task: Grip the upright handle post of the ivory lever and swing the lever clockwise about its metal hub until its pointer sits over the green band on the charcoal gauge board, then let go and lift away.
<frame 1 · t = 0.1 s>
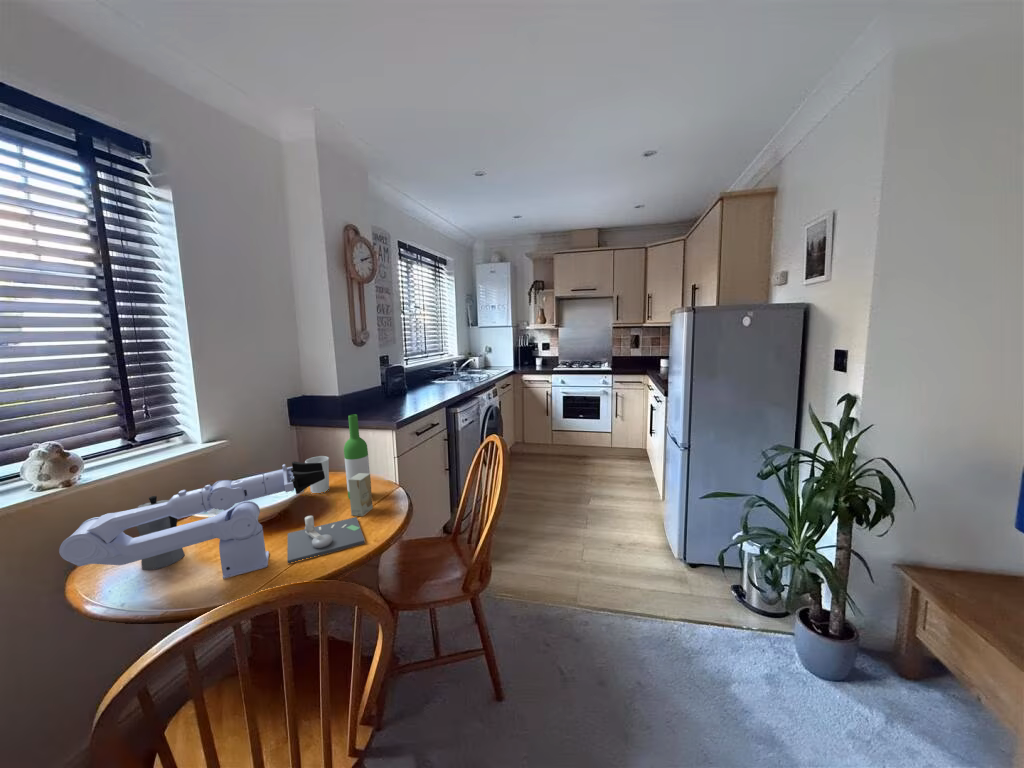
hand: (323, 470, 110), 22 cm above the table, tool horizontal, fingers open, 7 cm apart
cup: (320, 490, 151), on the table
gauge board: (325, 539, 116), on the table
wine bottle: (360, 498, 143), on the table
coffeepot: (166, 561, 107), on the table
tuning lever: (314, 529, 114), point 4 cm above the table, hinge at 0.0°
skincare box: (362, 512, 133), on the table
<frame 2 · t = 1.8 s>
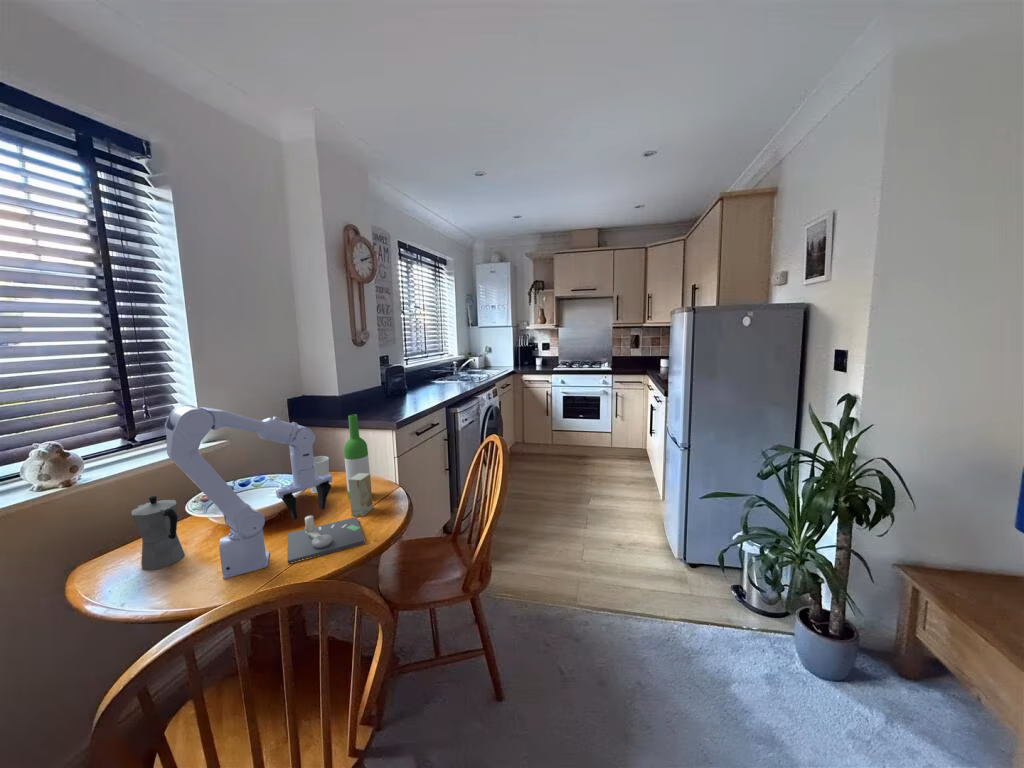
hand: (308, 513, 115), 8 cm above the table, tool pointing down, fingers open, 7 cm apart
nothing on the table moved.
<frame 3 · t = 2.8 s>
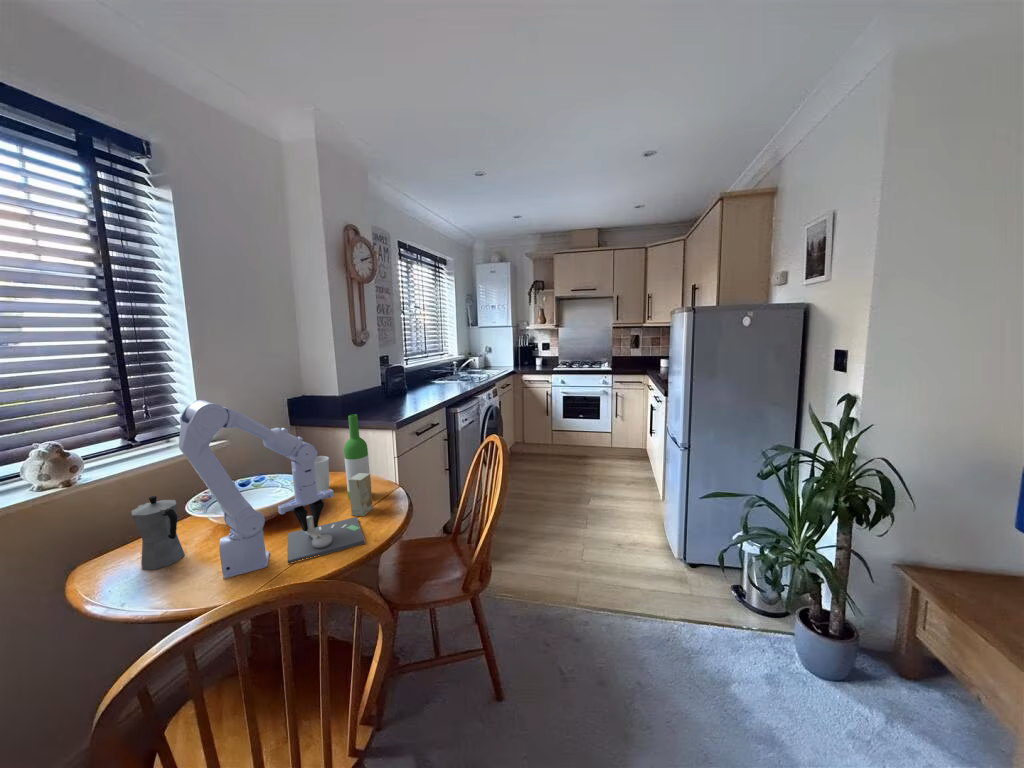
hand: (310, 528, 116), 3 cm above the table, tool pointing down, fingers closed on tuning lever, 2 cm apart
tuning lever: (314, 529, 114), point 4 cm above the table, hinge at 0.0°, touching gripper
everything else where it was.
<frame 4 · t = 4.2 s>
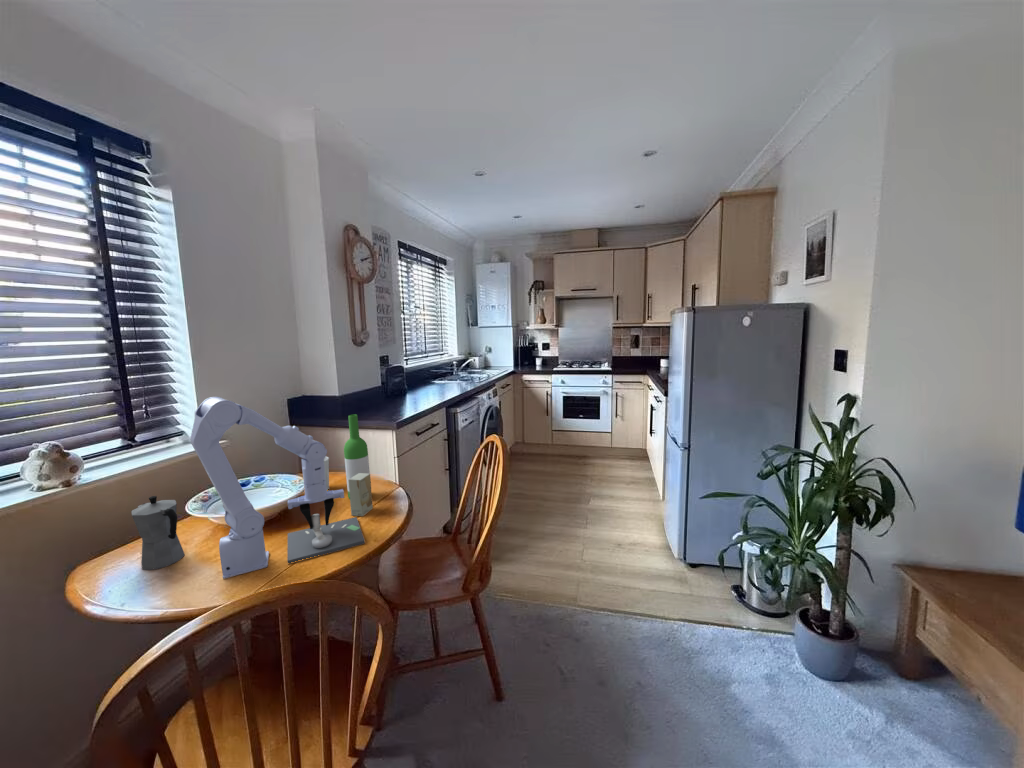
hand: (319, 525, 118), 3 cm above the table, tool pointing down, fingers open, 3 cm apart
tuning lever: (318, 528, 114), point 4 cm above the table, hinge at -13.0°, touching gripper
everything else where it was.
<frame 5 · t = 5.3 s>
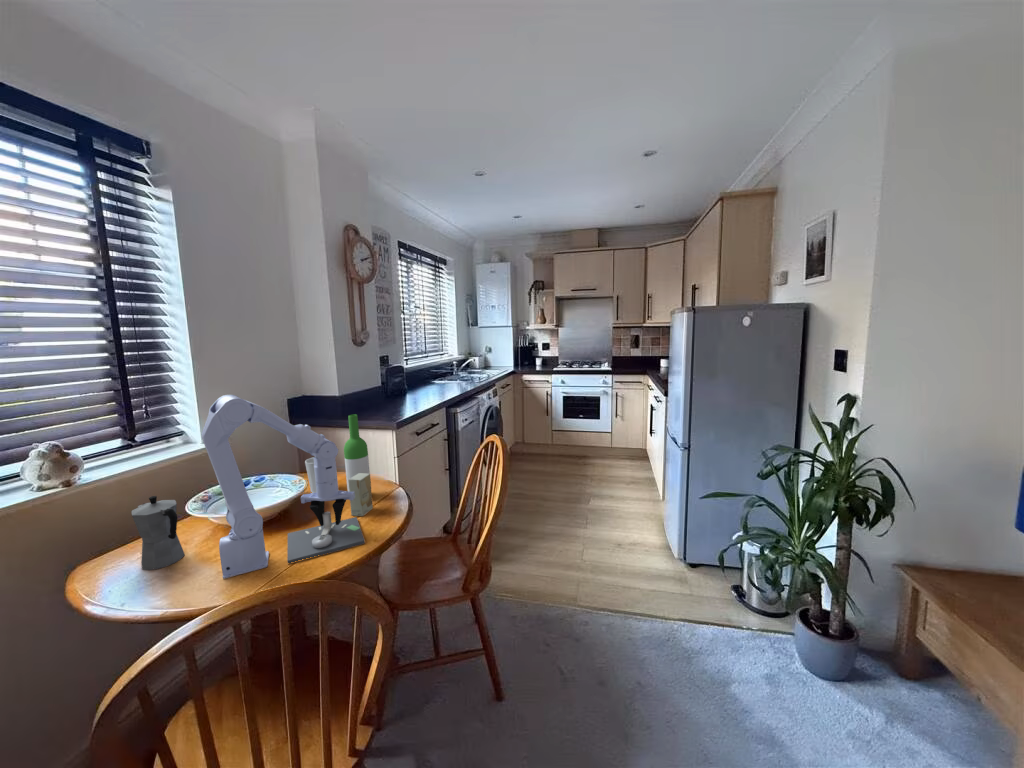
hand: (330, 523, 118), 3 cm above the table, tool pointing down, fingers open, 4 cm apart
tuning lever: (324, 526, 115), point 4 cm above the table, hinge at -35.4°, touching gripper
everything else where it was.
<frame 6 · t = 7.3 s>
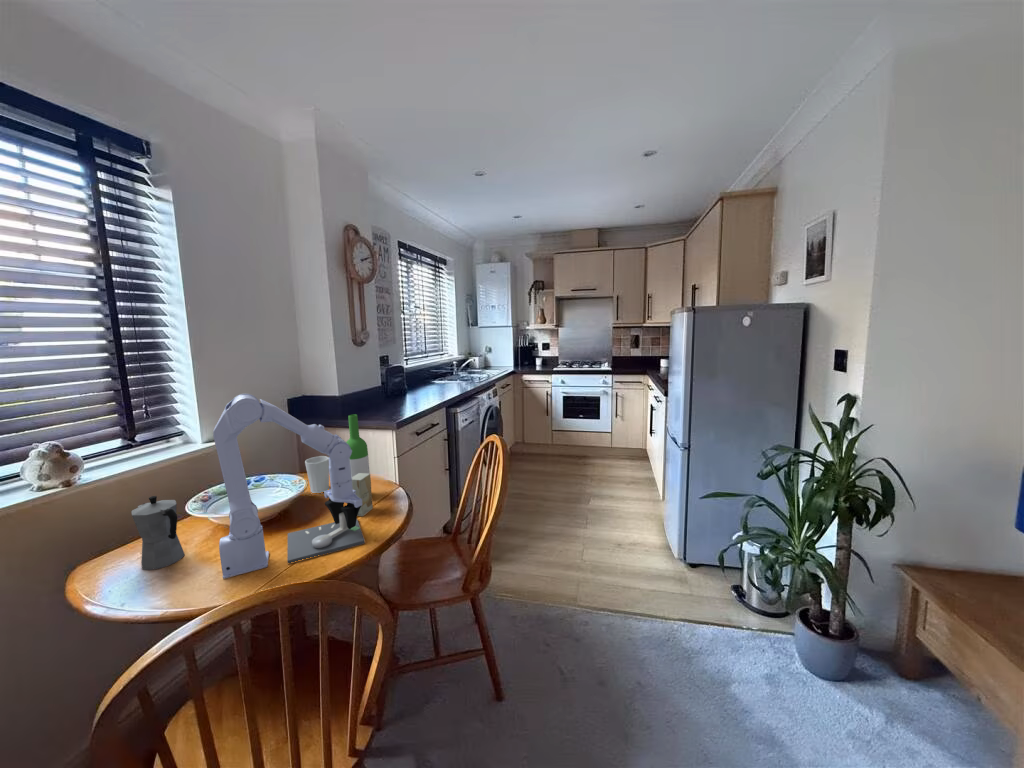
hand: (345, 524, 117), 3 cm above the table, tool pointing down, fingers open, 5 cm apart
tuning lever: (334, 527, 115), point 4 cm above the table, hinge at -75.6°
everything else where it was.
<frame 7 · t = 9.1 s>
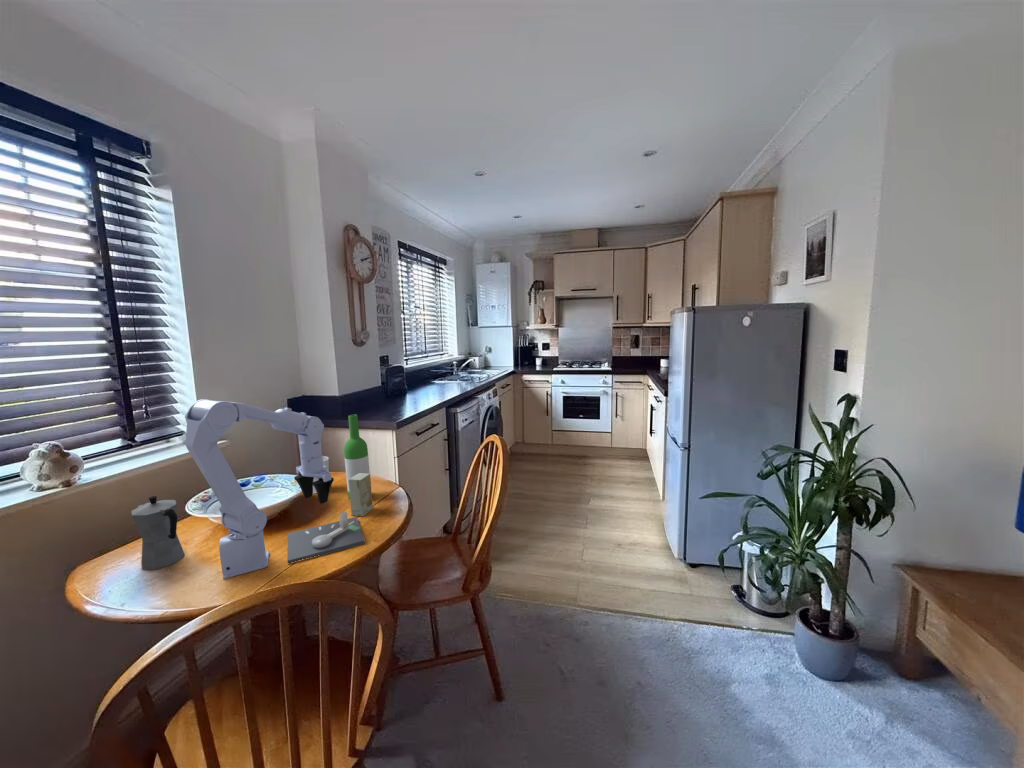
hand: (316, 499, 121), 9 cm above the table, tool pointing down, fingers open, 7 cm apart
nothing on the table moved.
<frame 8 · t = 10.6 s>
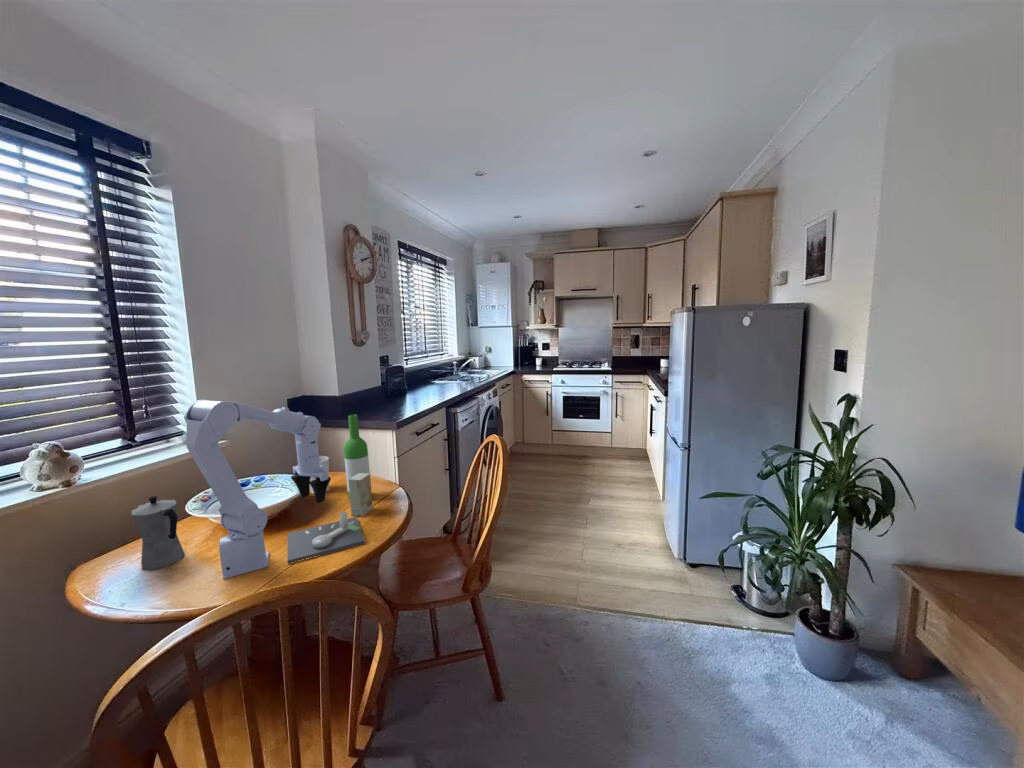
hand: (312, 499, 121), 9 cm above the table, tool pointing down, fingers open, 7 cm apart
nothing on the table moved.
at the end: tuning lever at -76° (first picture: +0°); the gripper is holding nothing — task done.
